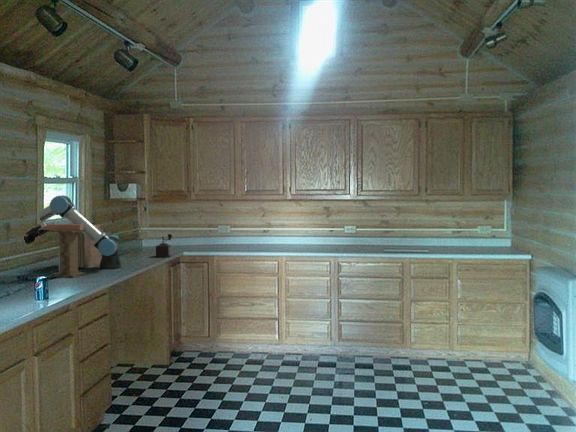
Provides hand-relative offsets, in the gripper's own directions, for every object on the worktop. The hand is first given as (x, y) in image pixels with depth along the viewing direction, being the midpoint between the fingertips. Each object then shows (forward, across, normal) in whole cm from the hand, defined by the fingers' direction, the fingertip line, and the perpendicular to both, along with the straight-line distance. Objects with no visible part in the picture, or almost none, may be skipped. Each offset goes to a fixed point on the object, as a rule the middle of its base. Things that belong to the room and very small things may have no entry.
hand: (50, 223), depth 381 cm
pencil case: (+5, 0, -7) cm, 9 cm away
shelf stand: (-5, 0, -36) cm, 37 cm away
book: (-19, -41, -29) cm, 54 cm away
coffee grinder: (+2, -107, -41) cm, 114 cm away
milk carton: (-19, -17, -29) cm, 38 cm away
